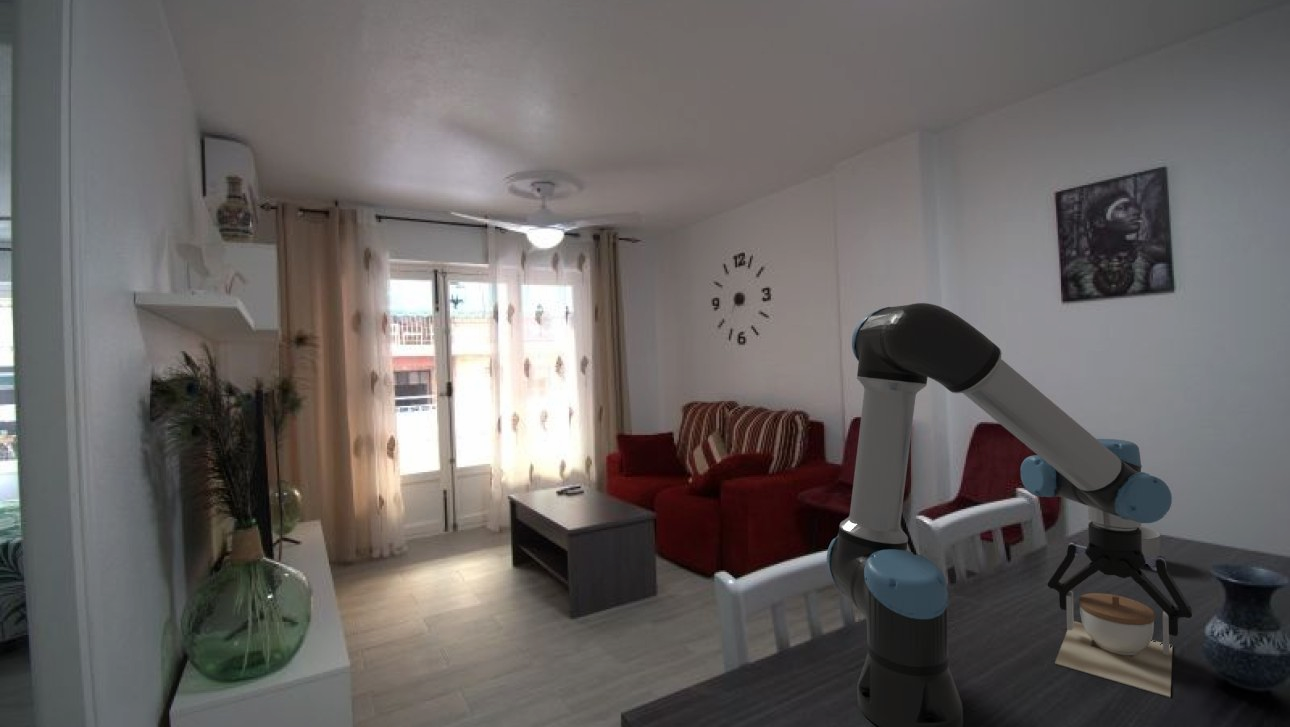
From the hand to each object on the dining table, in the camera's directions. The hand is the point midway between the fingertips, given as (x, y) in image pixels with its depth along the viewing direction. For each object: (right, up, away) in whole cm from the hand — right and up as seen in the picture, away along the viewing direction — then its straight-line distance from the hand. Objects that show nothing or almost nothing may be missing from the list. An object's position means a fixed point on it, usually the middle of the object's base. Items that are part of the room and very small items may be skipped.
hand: (1116, 638), depth 104 cm
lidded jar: (0, -2, 0) cm, 2 cm away
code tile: (-2, -2, -2) cm, 3 cm away
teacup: (+36, +1, +41) cm, 55 cm away
